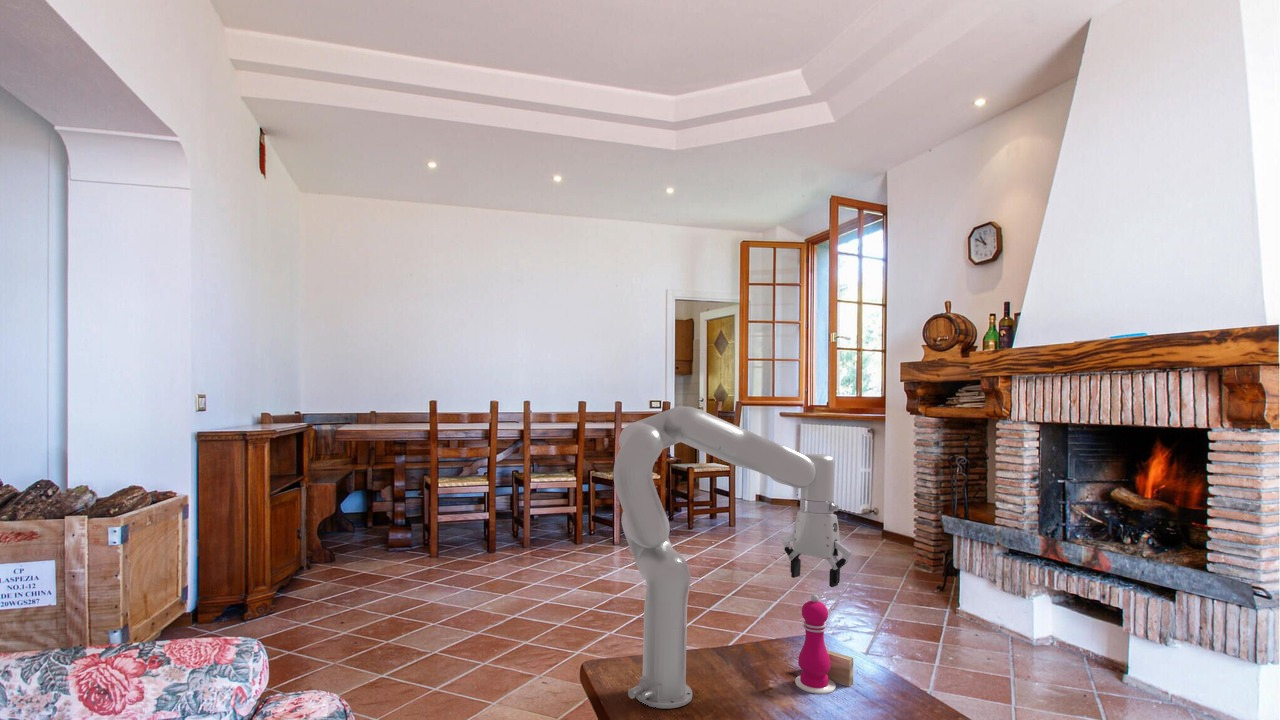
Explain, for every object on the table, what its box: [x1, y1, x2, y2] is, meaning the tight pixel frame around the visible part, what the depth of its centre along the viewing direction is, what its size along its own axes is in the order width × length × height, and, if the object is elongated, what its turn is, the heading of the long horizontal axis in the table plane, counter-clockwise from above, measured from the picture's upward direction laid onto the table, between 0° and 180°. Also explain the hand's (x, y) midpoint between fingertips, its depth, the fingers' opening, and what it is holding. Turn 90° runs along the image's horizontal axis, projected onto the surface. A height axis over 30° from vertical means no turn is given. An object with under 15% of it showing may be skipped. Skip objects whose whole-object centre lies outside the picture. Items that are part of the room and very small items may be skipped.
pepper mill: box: [797, 594, 831, 688], centre depth 151 cm, size 7×7×20 cm
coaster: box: [794, 675, 836, 695], centre depth 151 cm, size 9×9×1 cm
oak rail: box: [826, 649, 854, 688], centre depth 155 cm, size 2×12×6 cm, turn 47°
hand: (814, 581), depth 152 cm, fingers open, 9 cm apart
